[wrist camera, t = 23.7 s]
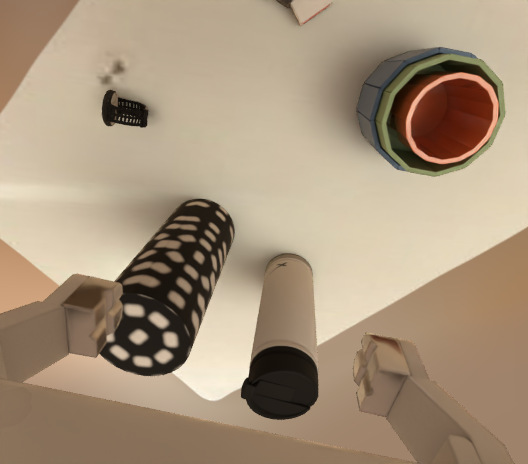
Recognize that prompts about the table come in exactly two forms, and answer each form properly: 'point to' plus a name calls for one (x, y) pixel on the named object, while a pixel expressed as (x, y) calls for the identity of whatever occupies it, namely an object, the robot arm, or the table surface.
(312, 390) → the travel mug
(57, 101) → the table surface
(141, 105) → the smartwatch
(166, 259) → the spotted tube
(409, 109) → the terracotta cup
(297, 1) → the usb drive
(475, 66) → the cup stack
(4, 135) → the table surface
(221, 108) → the table surface
